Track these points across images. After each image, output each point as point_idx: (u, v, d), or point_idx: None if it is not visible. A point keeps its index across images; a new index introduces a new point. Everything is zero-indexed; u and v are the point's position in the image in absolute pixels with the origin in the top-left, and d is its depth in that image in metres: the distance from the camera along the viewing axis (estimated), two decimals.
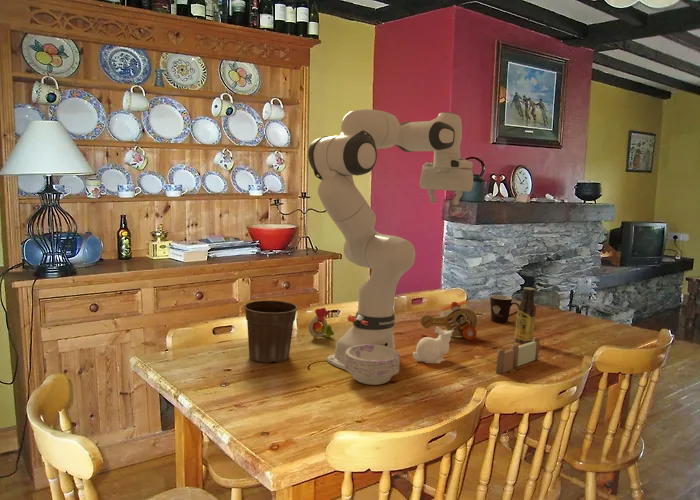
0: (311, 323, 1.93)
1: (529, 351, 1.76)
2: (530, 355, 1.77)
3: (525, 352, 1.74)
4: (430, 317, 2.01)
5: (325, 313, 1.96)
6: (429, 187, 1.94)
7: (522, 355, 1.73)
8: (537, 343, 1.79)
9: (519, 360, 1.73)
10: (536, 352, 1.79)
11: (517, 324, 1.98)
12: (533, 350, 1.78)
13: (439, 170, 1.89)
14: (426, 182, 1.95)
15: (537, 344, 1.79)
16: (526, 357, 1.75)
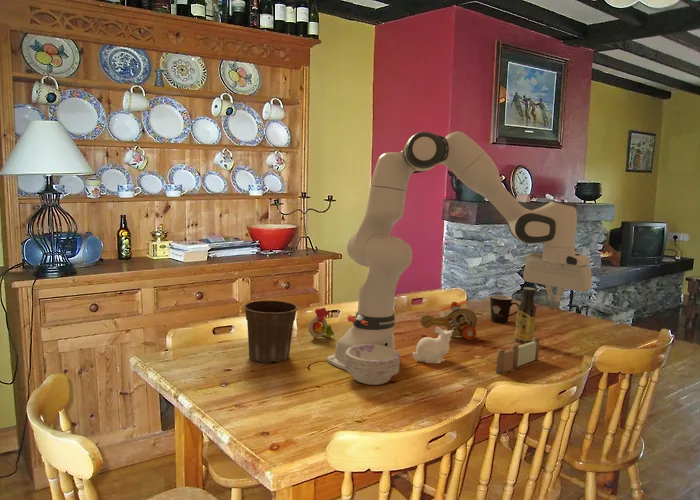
0: (311, 323, 1.93)
1: (529, 351, 1.76)
2: (530, 355, 1.77)
3: (525, 352, 1.74)
4: (430, 317, 2.01)
5: (325, 313, 1.96)
6: (536, 281, 1.73)
7: (522, 355, 1.73)
8: (537, 343, 1.79)
9: (519, 360, 1.73)
10: (536, 352, 1.79)
11: (517, 324, 1.98)
12: (533, 350, 1.78)
13: (550, 265, 1.68)
14: (533, 275, 1.74)
15: (537, 344, 1.79)
16: (526, 357, 1.75)
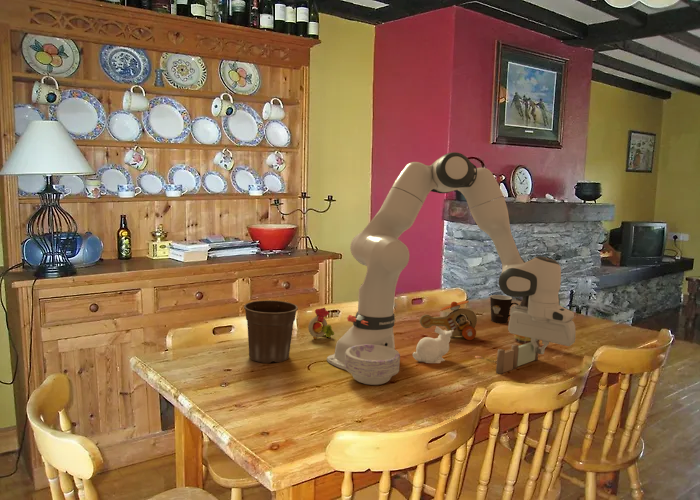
0: (311, 323, 1.93)
1: (529, 351, 1.76)
2: (530, 355, 1.77)
3: (525, 352, 1.74)
4: (430, 317, 2.01)
5: (325, 313, 1.96)
6: (521, 334, 1.77)
7: (522, 355, 1.73)
8: (537, 343, 1.79)
9: (519, 360, 1.73)
10: None
11: None
12: (533, 350, 1.78)
13: (536, 319, 1.72)
14: (518, 328, 1.78)
15: (537, 344, 1.79)
16: (526, 357, 1.75)
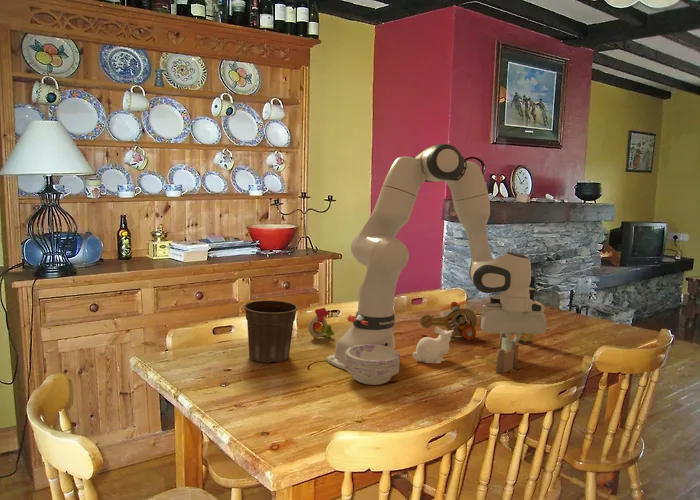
0: (311, 323, 1.93)
1: None
2: None
3: None
4: (429, 317, 2.01)
5: (325, 313, 1.96)
6: (497, 331, 1.78)
7: None
8: (506, 338, 1.83)
9: None
10: None
11: None
12: None
13: (515, 314, 1.76)
14: (494, 325, 1.78)
15: None
16: None
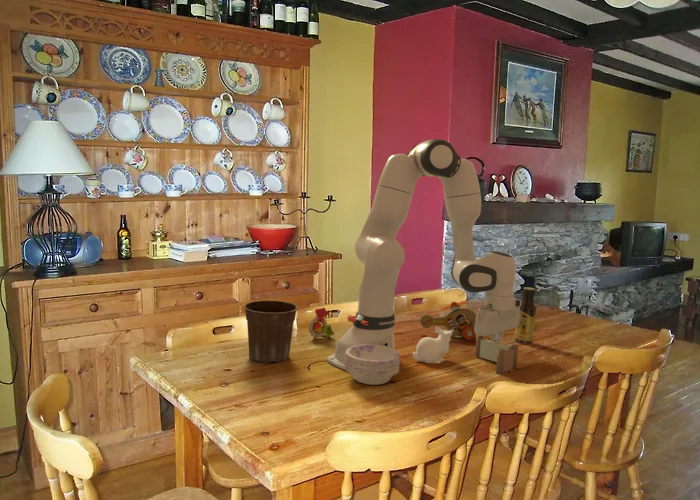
0: (311, 323, 1.93)
1: None
2: None
3: None
4: (429, 317, 2.01)
5: (325, 313, 1.96)
6: (492, 332, 1.76)
7: None
8: None
9: None
10: None
11: None
12: None
13: (505, 313, 1.77)
14: (490, 328, 1.75)
15: None
16: None
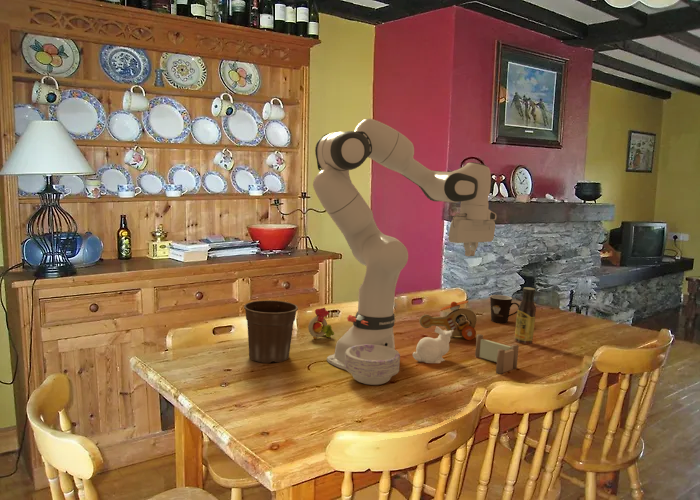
0: (311, 323, 1.93)
1: None
2: None
3: None
4: (429, 317, 2.01)
5: (325, 313, 1.96)
6: (465, 241, 1.80)
7: None
8: None
9: None
10: None
11: (517, 324, 1.98)
12: None
13: (480, 223, 1.81)
14: (464, 235, 1.79)
15: None
16: None
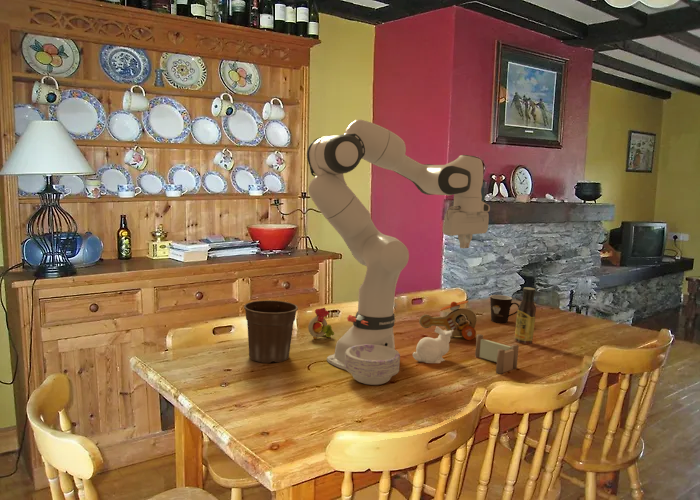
0: (311, 323, 1.93)
1: None
2: None
3: None
4: (429, 317, 2.01)
5: (325, 313, 1.96)
6: (460, 233, 1.81)
7: None
8: None
9: None
10: None
11: (517, 324, 1.98)
12: None
13: (473, 215, 1.82)
14: (458, 228, 1.79)
15: None
16: None
